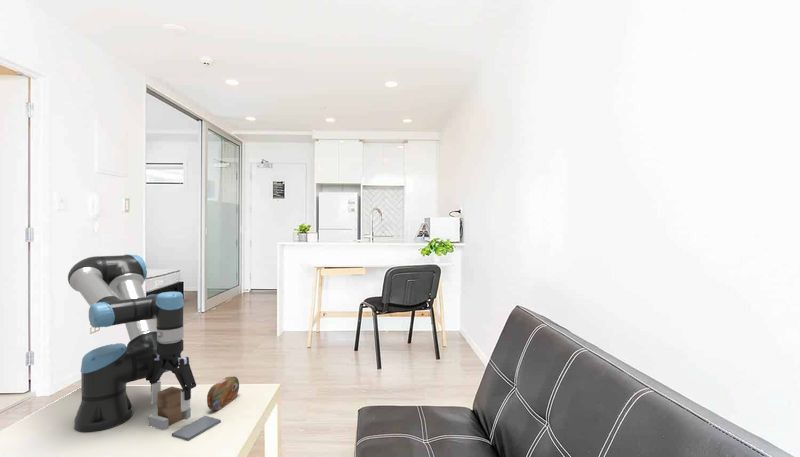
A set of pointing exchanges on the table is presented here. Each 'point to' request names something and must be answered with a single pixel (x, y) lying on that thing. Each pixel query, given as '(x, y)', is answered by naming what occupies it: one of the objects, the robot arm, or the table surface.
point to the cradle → (165, 420)
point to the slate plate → (196, 428)
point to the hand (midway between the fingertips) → (170, 406)
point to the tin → (222, 393)
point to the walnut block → (170, 404)
